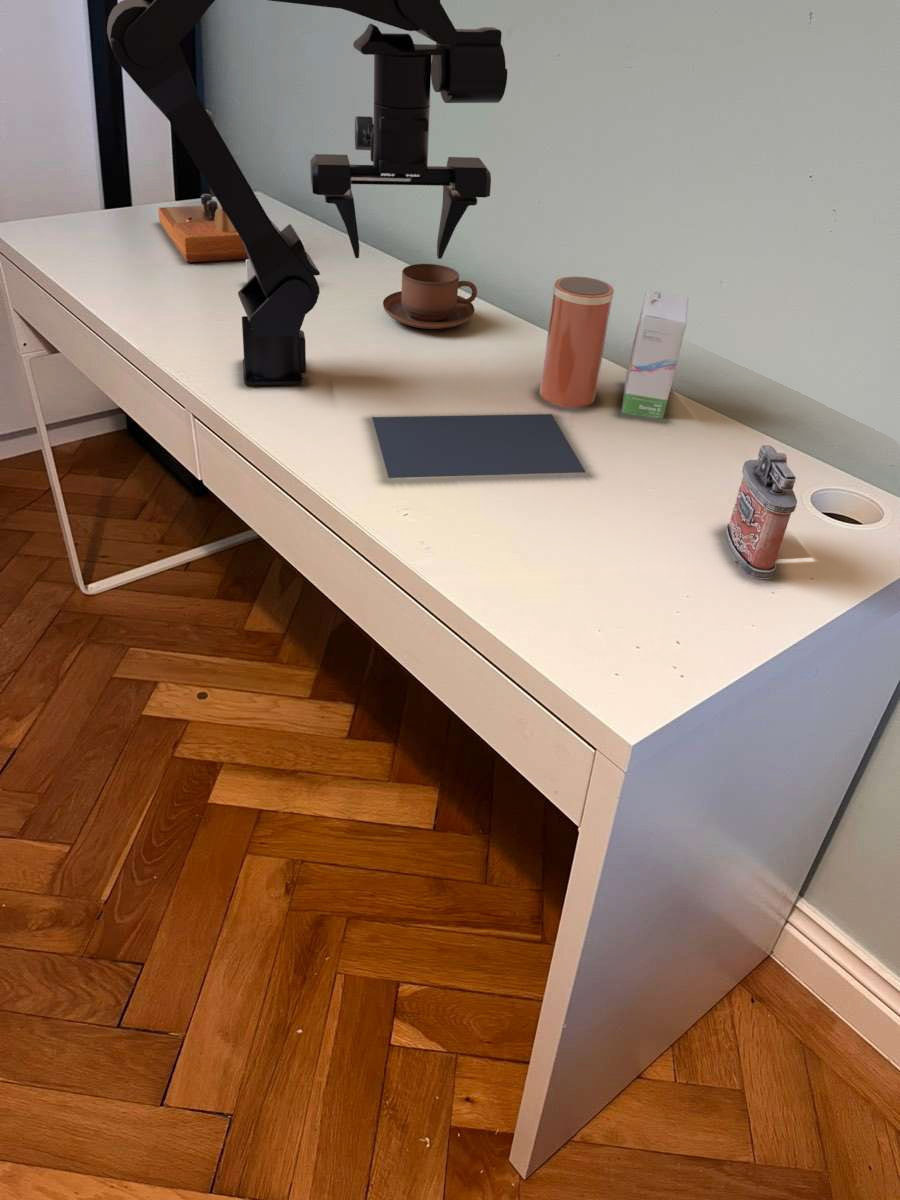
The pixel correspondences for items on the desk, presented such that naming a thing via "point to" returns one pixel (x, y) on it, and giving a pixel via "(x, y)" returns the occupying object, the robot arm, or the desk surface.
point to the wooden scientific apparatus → (204, 231)
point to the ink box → (654, 354)
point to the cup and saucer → (430, 298)
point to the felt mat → (474, 445)
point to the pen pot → (575, 340)
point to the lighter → (761, 512)
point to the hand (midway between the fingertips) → (398, 257)
